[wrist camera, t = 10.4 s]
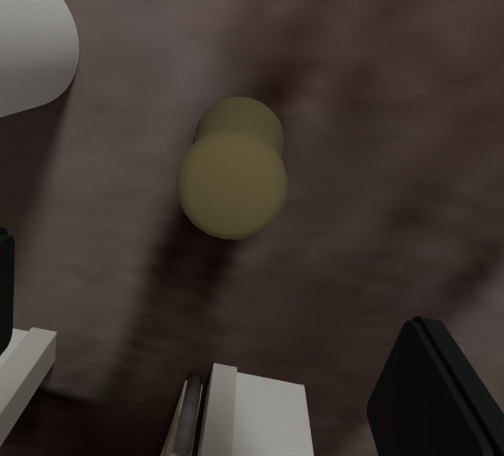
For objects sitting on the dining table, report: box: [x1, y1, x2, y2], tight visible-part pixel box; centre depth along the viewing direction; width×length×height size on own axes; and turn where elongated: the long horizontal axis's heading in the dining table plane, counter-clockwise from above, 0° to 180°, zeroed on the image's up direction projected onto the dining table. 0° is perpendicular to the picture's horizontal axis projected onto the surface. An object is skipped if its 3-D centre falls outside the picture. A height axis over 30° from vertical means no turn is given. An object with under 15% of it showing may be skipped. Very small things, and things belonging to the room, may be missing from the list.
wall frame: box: [0, 327, 314, 456], centre depth 31 cm, size 31×3×10 cm, turn 77°
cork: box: [177, 97, 288, 239], centre depth 24 cm, size 6×6×11 cm
